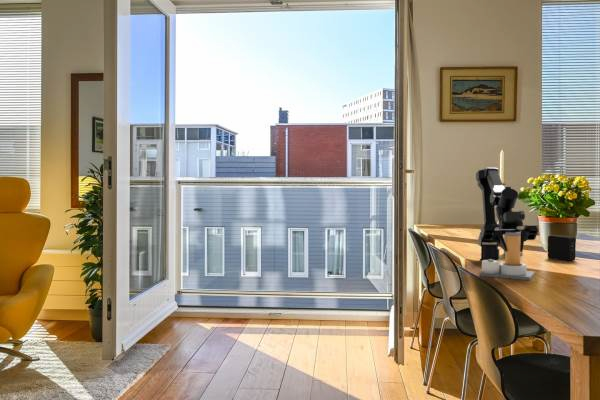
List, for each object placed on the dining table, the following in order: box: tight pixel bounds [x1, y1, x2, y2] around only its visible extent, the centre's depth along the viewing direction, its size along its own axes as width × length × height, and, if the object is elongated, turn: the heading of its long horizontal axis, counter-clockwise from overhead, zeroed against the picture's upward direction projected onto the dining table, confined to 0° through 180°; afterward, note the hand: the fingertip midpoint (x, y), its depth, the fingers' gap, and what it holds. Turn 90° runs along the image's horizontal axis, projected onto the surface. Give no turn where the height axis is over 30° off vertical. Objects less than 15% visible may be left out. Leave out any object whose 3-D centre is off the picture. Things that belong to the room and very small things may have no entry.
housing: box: [479, 259, 535, 281], centre depth 181 cm, size 16×12×6 cm
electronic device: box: [547, 234, 577, 262], centre depth 213 cm, size 4×10×10 cm, turn 28°
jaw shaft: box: [504, 232, 521, 266], centre depth 180 cm, size 5×5×13 cm
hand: (513, 250), depth 178 cm, fingers closed on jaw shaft, 5 cm apart
